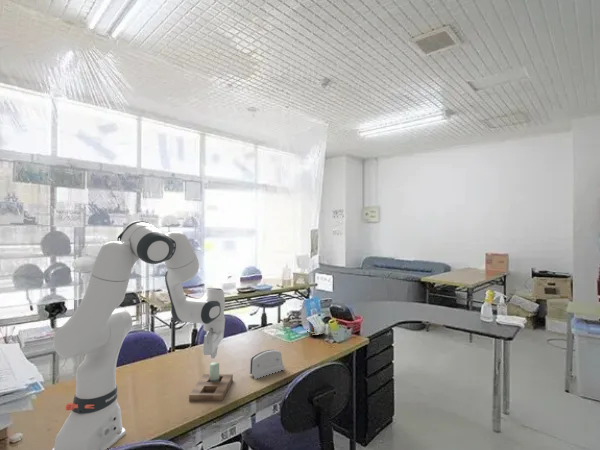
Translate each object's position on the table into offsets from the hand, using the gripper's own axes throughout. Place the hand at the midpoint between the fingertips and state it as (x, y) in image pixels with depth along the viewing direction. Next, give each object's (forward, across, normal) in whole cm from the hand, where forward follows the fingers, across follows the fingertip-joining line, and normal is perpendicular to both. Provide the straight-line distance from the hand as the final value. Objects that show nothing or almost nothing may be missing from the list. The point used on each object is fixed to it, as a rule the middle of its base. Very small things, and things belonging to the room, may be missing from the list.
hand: (213, 357), depth 144 cm
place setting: (+12, +73, -49) cm, 89 cm away
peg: (+12, -1, -1) cm, 12 cm away
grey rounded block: (+12, +12, -22) cm, 28 cm away
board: (+12, -5, -1) cm, 13 cm away
